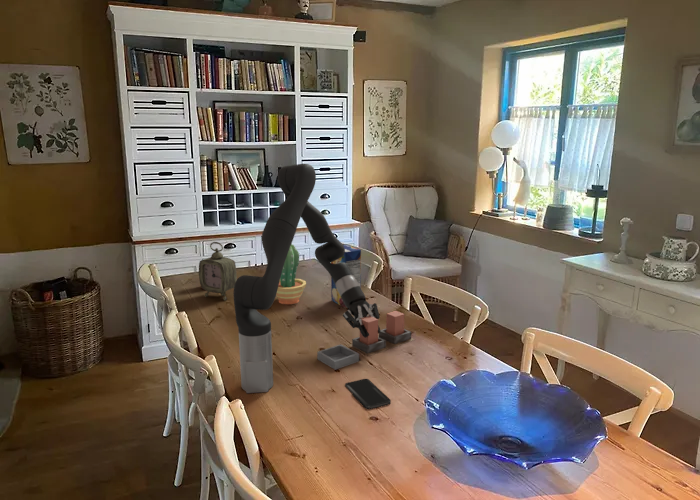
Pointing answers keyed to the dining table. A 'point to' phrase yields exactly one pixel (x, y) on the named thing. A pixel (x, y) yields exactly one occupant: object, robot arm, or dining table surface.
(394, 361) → the dining table surface
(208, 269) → the tabletop clock
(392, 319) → the block
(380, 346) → the dark grey double holder
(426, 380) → the dining table surface
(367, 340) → the block
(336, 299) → the juice carton
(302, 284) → the potted cactus
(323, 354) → the box
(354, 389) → the phone
